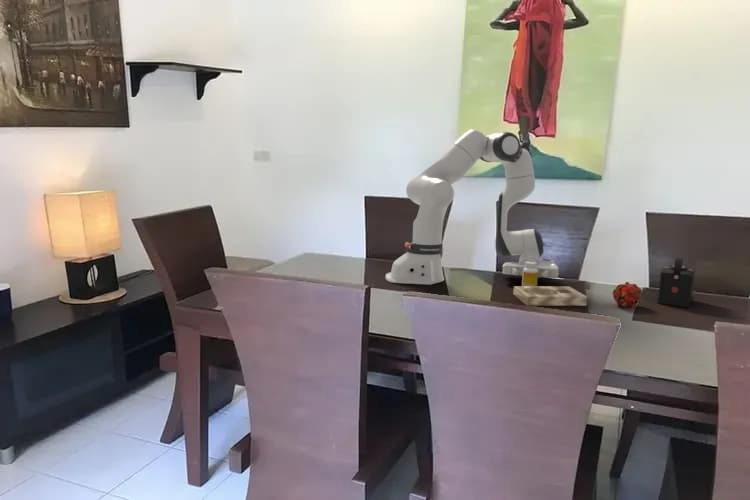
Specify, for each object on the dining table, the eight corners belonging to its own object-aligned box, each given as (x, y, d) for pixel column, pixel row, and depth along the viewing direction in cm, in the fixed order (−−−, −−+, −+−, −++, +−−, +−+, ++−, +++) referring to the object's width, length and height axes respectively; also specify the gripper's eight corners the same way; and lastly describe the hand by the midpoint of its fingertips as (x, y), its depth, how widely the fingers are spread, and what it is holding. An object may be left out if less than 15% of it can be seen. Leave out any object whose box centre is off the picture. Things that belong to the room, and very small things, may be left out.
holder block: (527, 305, 184) (528, 296, 183) (513, 294, 198) (513, 285, 197) (586, 305, 186) (587, 296, 185) (568, 294, 199) (569, 286, 199)
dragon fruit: (635, 307, 191) (621, 319, 182) (615, 289, 194) (600, 300, 186) (652, 291, 185) (638, 303, 177) (631, 273, 189) (617, 283, 180)
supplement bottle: (538, 290, 205) (540, 264, 203) (523, 290, 205) (525, 263, 203) (534, 287, 210) (536, 261, 208) (520, 286, 210) (521, 260, 208)
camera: (694, 300, 197) (699, 257, 194) (692, 309, 185) (698, 264, 182) (659, 295, 202) (664, 254, 200) (656, 303, 190) (661, 260, 188)
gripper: (503, 257, 221) (501, 263, 208) (558, 260, 216) (559, 267, 202) (502, 272, 222) (500, 280, 209) (556, 277, 217) (558, 285, 203)
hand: (530, 274), depth 205 cm, fingers open, 8 cm apart
